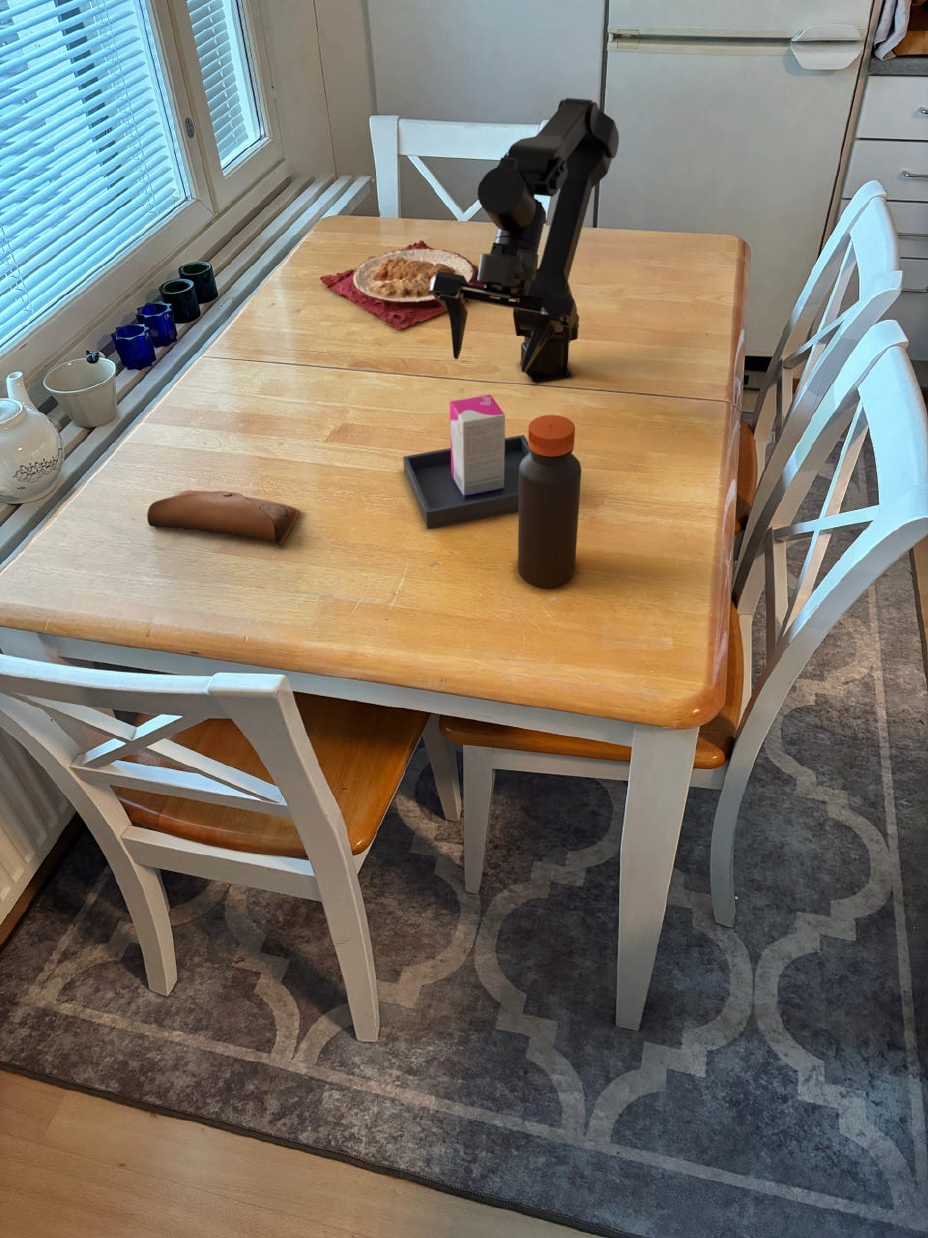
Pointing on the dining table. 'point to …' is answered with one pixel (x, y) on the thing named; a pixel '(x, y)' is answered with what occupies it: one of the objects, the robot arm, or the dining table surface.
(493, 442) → the supplement box
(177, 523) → the sunglasses case
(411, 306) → the plate with food
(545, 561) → the bottle
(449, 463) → the serving tray
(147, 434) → the dining table surface
